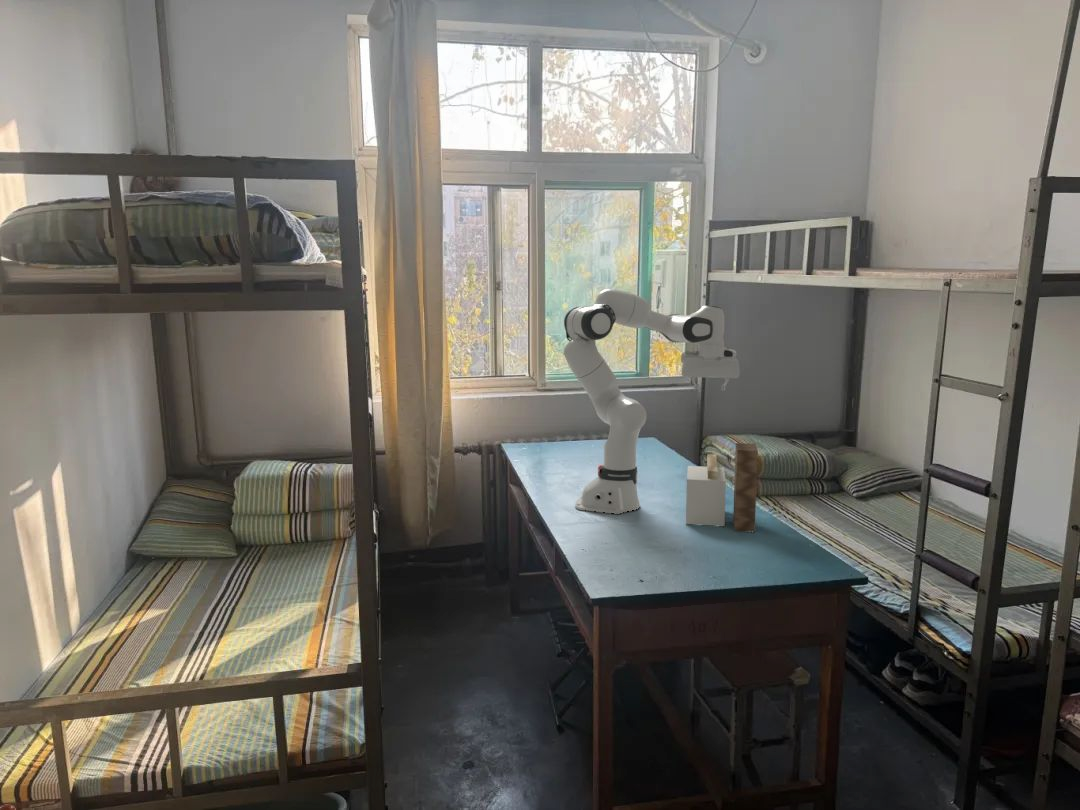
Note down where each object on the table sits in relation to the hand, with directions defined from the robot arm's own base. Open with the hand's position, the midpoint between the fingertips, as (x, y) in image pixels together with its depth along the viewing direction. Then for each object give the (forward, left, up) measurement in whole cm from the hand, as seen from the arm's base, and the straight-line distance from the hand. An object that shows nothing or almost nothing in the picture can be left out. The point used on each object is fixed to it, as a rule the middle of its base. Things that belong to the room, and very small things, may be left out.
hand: (709, 390), depth 261 cm
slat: (+1, -22, -24) cm, 32 cm away
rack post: (+11, -35, -39) cm, 54 cm away
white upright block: (-1, -27, -39) cm, 47 cm away
